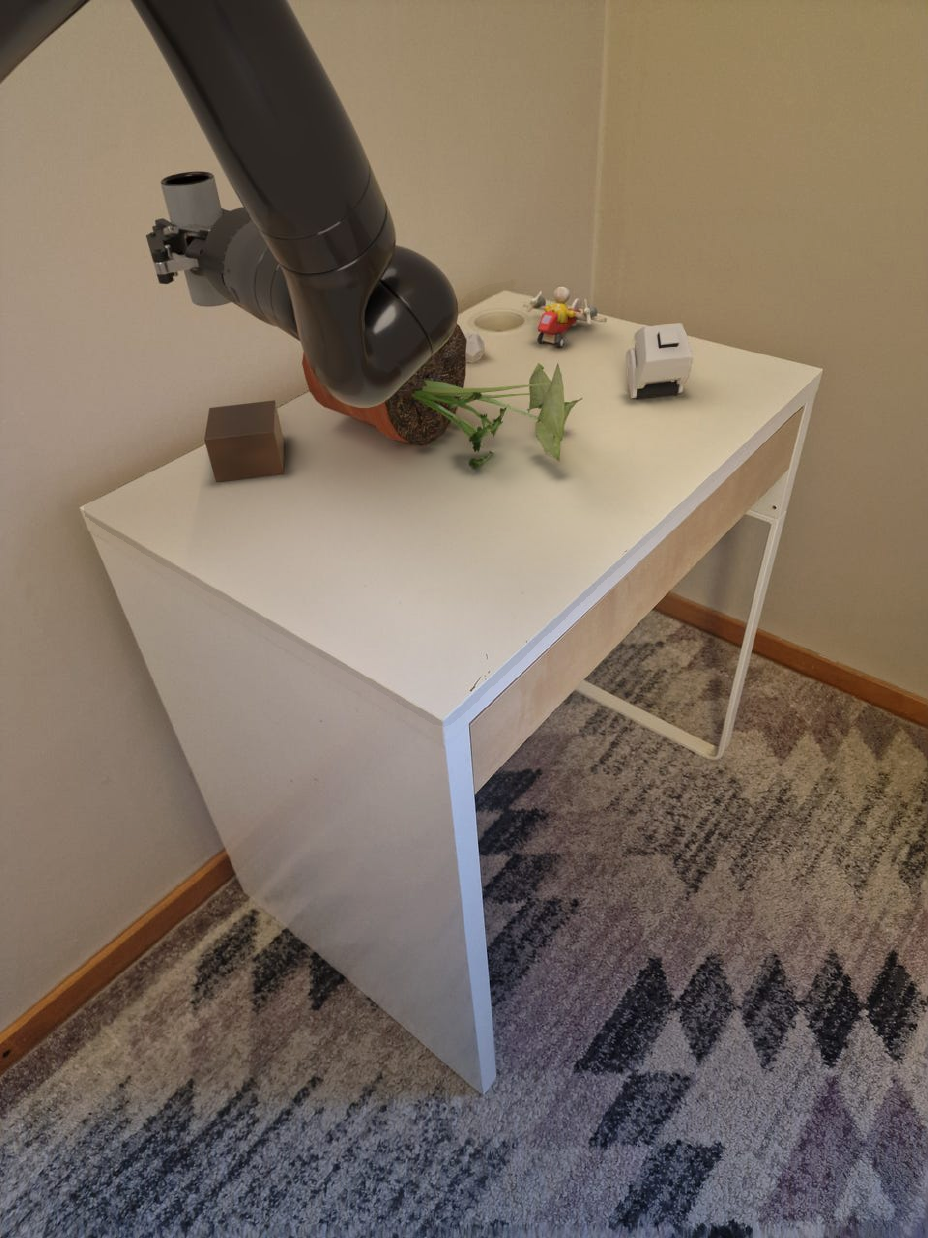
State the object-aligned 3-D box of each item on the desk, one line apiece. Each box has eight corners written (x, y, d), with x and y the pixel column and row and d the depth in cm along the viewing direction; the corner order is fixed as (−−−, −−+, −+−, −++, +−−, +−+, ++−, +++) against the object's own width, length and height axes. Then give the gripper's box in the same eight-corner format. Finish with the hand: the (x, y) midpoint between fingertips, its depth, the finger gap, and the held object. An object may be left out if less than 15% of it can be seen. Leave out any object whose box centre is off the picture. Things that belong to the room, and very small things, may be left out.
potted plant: (302, 457, 95) (583, 522, 78) (272, 318, 86) (581, 356, 69) (388, 406, 105) (654, 453, 88) (369, 277, 96) (660, 301, 79)
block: (215, 482, 89) (203, 439, 86) (220, 449, 94) (209, 407, 91) (283, 473, 89) (273, 431, 86) (284, 441, 95) (275, 399, 91)
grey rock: (451, 362, 108) (450, 339, 106) (466, 351, 110) (465, 328, 108) (475, 367, 106) (474, 344, 104) (490, 355, 109) (489, 332, 107)
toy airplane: (539, 353, 108) (539, 302, 104) (521, 326, 115) (521, 277, 111) (608, 343, 109) (611, 293, 105) (586, 317, 116) (588, 269, 112)
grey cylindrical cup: (240, 286, 82) (214, 168, 75) (241, 303, 78) (213, 180, 72) (193, 293, 81) (161, 174, 75) (191, 310, 78) (158, 187, 71)
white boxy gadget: (626, 408, 100) (648, 370, 90) (617, 355, 101) (637, 312, 91) (675, 403, 100) (702, 364, 90) (666, 350, 101) (691, 306, 91)
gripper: (343, 198, 67) (250, 163, 78) (171, 240, 61) (96, 196, 72) (356, 293, 72) (267, 248, 83) (198, 341, 66) (124, 286, 77)
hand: (188, 224), depth 78 cm, fingers closed on grey cylindrical cup, 4 cm apart
